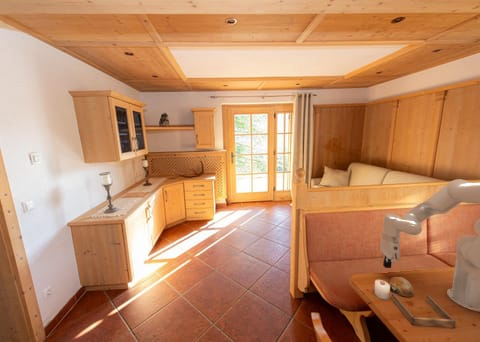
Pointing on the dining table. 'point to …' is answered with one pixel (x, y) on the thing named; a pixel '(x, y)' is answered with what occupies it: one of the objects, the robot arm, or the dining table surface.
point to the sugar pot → (382, 289)
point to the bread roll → (401, 286)
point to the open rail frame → (445, 322)
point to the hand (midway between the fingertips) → (386, 266)
